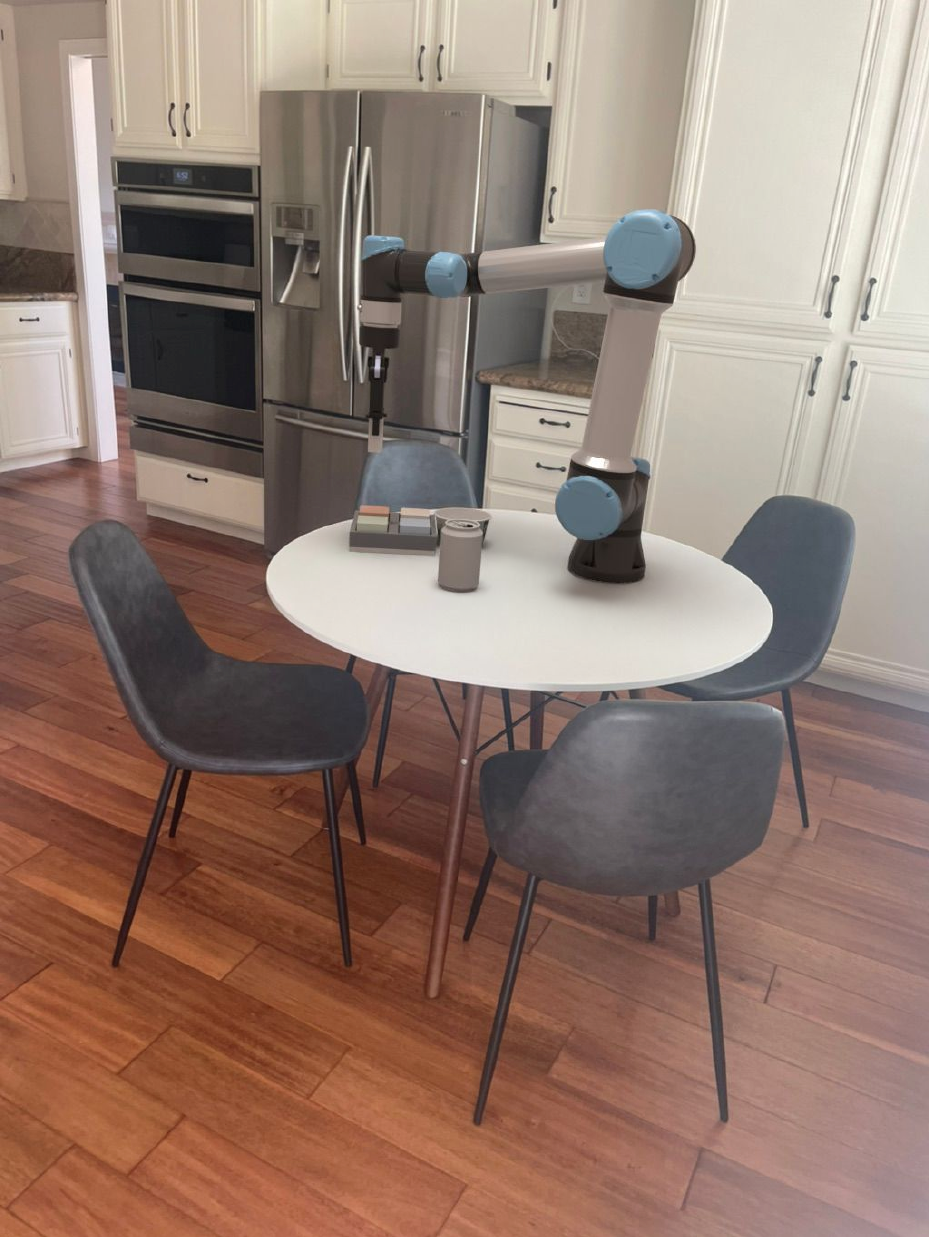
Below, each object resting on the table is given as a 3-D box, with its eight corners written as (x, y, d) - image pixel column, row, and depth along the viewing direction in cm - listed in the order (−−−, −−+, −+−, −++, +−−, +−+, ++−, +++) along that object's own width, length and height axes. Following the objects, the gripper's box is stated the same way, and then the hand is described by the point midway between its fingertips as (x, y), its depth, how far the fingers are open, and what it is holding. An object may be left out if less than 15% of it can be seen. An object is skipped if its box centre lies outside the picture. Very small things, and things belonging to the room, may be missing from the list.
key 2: (388, 518, 200) (389, 506, 199) (387, 525, 194) (388, 514, 193) (360, 516, 199) (360, 505, 199) (358, 524, 194) (359, 512, 193)
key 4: (428, 520, 200) (429, 509, 200) (429, 528, 195) (429, 516, 194) (400, 519, 200) (401, 507, 199) (400, 526, 194) (400, 514, 194)
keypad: (433, 532, 203) (434, 514, 201) (435, 556, 187) (436, 536, 186) (354, 528, 202) (354, 510, 200) (349, 551, 186) (349, 531, 184)
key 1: (387, 529, 192) (388, 517, 191) (386, 537, 186) (387, 524, 185) (358, 527, 192) (358, 515, 191) (356, 535, 186) (356, 523, 185)
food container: (421, 545, 193) (422, 514, 191) (449, 534, 203) (451, 504, 201) (473, 555, 188) (475, 523, 186) (499, 543, 198) (501, 513, 196)
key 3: (429, 531, 193) (429, 519, 192) (429, 539, 187) (430, 527, 186) (399, 529, 192) (400, 517, 191) (399, 537, 187) (400, 525, 186)
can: (474, 595, 166) (479, 529, 162) (433, 590, 168) (437, 524, 163) (482, 582, 173) (487, 519, 169) (442, 577, 175) (446, 514, 170)
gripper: (361, 321, 181) (357, 444, 189) (357, 326, 169) (353, 457, 177) (400, 324, 181) (394, 446, 190) (399, 329, 169) (393, 459, 177)
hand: (375, 451), depth 183 cm, fingers closed
